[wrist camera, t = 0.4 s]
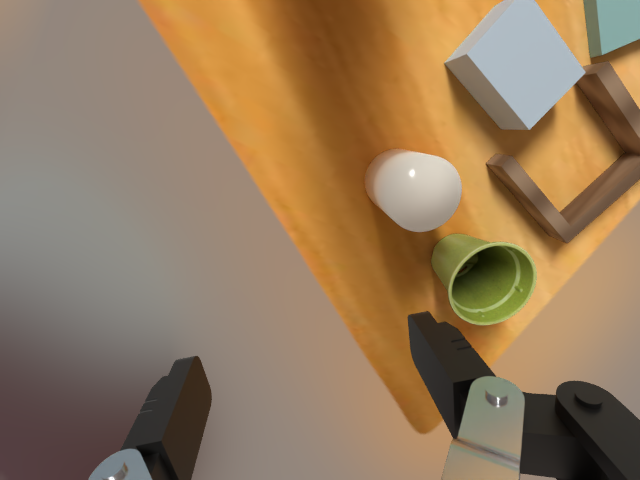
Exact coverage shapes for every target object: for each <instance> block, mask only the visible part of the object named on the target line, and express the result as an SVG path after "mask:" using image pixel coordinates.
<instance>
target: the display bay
mask: <svg viewBox="0 0 640 480" xmlns="http://www.w3.org/2000/svg"><path fill="white" fill-rule="evenodd" d="M582 68H583V69H584V70H585V72H586V73H585V74H584V75H583V76H582V77H581V78H580V79H579V80H578V81H577V82H576V83H577V84H578V86H579V87H580V89H581V90H582V91H583V93H584V94H585V96H586V97H587V99H588V100H589V101H590V103H591V104H592V106H593V107H594V109H595V110H596V112H597V113H598V114H599V116H600V117H601V119H602V120H603V122H604V123H605V124H606V126H607V127H608V129H609V130H610V132H611V133H612V135H613V136H614V137H615V139H616V140H617V142H618V143H619V145H620V146H621V147H622V149H623V150H624V152H625V153H624V154H623V155H622V156H621V157H620V158H619V159H618V160H617V161H616V162H614V163H613V164H612V165H611V166H610V167H609V168H608V169H607V170H606V171H605V172H604V173H602V174H601V175H600V176H599V177H598V178H597V179H596V180H595V181H594V182H593V183H592V184H590V185H589V186H588V187H587V188H586V189H585V190H584V191H583V192H582V193H581V194H579V195H578V196H577V197H576V198H575V199H574V200H573V201H572V202H571V203H570V204H569V205H567V206H566V207H565V208H564V209H563V210H562V211H561V212H560V213H559V212H558V210H557V209H556V208H555V207H554V206H553V204H552V203H551V202H550V201H549V200H548V198H547V197H546V196H545V195H544V194H543V192H542V191H541V190H540V189H539V188H538V186H537V185H536V184H535V183H534V182H533V180H532V179H531V178H530V177H529V176H528V174H527V173H526V172H525V171H524V170H523V168H522V167H521V166H520V165H519V164H518V162H517V161H516V160H515V159H514V158H513V156H509V155H502V154H495V155H494V156H493V157H492V158H491V159H490V160H489V161H488V162H487V163H486V164H487V165H488V167H489V168H490V169H491V170H492V171H493V172H494V173H495V175H496V176H497V177H498V178H499V179H500V180H501V181H502V183H503V184H504V185H505V186H506V187H507V188H508V189H509V191H510V192H511V193H512V194H513V195H514V196H515V197H516V199H517V200H518V201H519V202H520V203H521V204H522V205H523V207H524V208H525V209H526V210H527V211H528V212H529V213H530V215H531V216H532V217H533V218H534V219H535V220H536V221H537V223H538V224H539V225H540V226H541V227H542V228H543V229H544V231H545V232H546V233H547V234H548V235H549V236H551V237H553V238H556V239H558V240H560V241H563V242H565V243H568V242H570V241H571V240H572V239H573V238H574V237H575V236H576V235H577V234H579V233H580V232H581V231H582V230H583V229H584V228H585V227H586V226H588V225H589V224H590V223H591V222H592V221H593V220H594V219H595V218H597V217H598V216H599V215H600V214H601V213H602V212H603V211H604V210H605V209H607V208H608V207H609V206H610V205H611V204H612V203H613V202H614V201H616V200H617V199H618V198H619V197H620V196H621V195H622V194H623V193H625V192H626V191H627V190H628V189H629V188H630V187H631V186H632V185H634V184H635V183H636V182H637V181H638V180H639V179H640V109H639V108H638V106H637V105H636V103H635V102H634V100H633V98H632V97H631V95H630V94H629V92H628V91H627V89H626V88H625V86H624V85H623V83H622V81H621V80H620V78H619V77H618V75H617V74H616V72H615V71H614V69H613V68H612V66H611V64H610V63H609V61H606V62H601V63H596V64H592V65H587V66H583V67H582Z"/></svg>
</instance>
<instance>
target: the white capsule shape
mask: <svg viewBox="0 0 640 480" xmlns="http://www.w3.org/2000/svg"><path fill="white" fill-rule="evenodd" d="M365 189H366V192H367V194H368V196H369V198H370V199H371V200H372V201H373V202H374V203H375V204H376V205H377V206H378V207H379V208H380V209H381V210H382V211H384V212H385V213H386V214H387V215H388V216H389V217H390V218H391V219H392V220H394V221H395V222H396V223H397V224H398V225H399V226H401V227H402V228H404V229H407V230H409V231H414V232H425V231H430V230H433V229H435V228H438V227H439V226H441V225H443V224H444V223H445V222H446V221H448V220H449V219H450V217H451V216H452V215H453V214H454V212H455V211H456V209H457V207H458V205H459V202H460V199H461V193H462V185H461V180H460V177H459V174H458V172H457V170H456V169H455V168H454V166H453V165H452V164H451V163H450V162H448V161H447V160H445V159H443V158H441V157H438V156H433V155H429V154H424V153H419V152H414V151H409V150H404V149H390V150H386V151H384V152H382V153H380V154H379V155H378V156H376V157H375V158H374V159H373V160H372V162H371V163H370V165H369V166H368V168H367V171H366V174H365Z"/></svg>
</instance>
